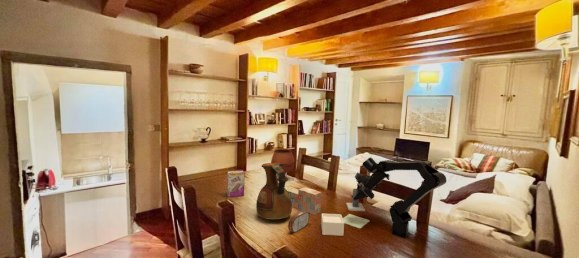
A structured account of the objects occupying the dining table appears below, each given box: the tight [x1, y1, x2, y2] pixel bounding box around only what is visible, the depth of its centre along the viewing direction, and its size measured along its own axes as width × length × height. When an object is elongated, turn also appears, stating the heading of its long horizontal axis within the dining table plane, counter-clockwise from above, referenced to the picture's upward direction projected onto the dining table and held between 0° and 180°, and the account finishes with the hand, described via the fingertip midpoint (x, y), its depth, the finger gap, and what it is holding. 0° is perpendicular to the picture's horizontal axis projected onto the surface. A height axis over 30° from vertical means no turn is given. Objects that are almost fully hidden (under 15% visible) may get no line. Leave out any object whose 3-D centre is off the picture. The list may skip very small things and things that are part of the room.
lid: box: [345, 188, 366, 212], centre depth 138 cm, size 8×8×10 cm
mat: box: [342, 213, 370, 229], centre depth 139 cm, size 12×12×1 cm
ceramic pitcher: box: [255, 162, 293, 220], centre depth 141 cm, size 20×20×30 cm
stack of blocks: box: [287, 186, 322, 216], centre depth 154 cm, size 21×6×12 cm, turn 49°
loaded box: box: [320, 213, 345, 237], centre depth 128 cm, size 10×10×6 cm
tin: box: [287, 210, 310, 233], centre depth 128 cm, size 15×3×8 cm, turn 141°
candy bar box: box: [226, 170, 246, 198], centre depth 172 cm, size 11×5×16 cm, turn 108°
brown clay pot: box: [270, 148, 296, 182], centre depth 210 cm, size 19×19×25 cm
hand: (353, 198), depth 138 cm, fingers closed on lid, 3 cm apart
